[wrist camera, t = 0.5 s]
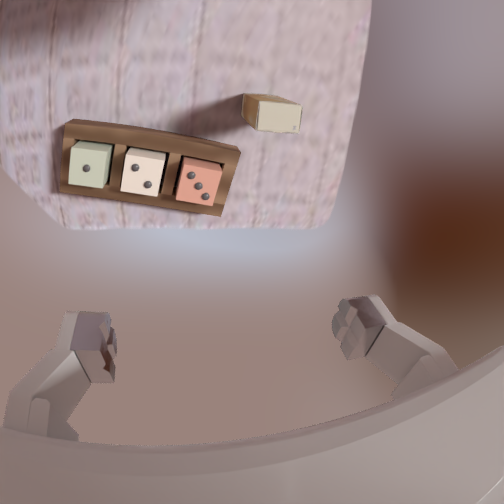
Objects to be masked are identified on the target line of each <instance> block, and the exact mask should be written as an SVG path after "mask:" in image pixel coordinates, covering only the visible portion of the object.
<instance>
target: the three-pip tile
mask: <svg viewBox="0 0 504 504" xmlns="http://www.w3.org/2000/svg"><path fill="white" fill-rule="evenodd" d="M221 175H222V169H221V167H220V164H219V162H215V161H211V160H206V159H201V158H196V157H191V156H186V155H184V157H183V161H182V165H181V169H180V173H179V177H178V181H177V186H176V200H180V201H186V202H191V203H197V204H203V205H209V206H213V202H214V199H215V196H216V192H217V189H218V185H219V182H220V179H221Z"/></svg>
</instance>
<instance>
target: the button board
mask: <svg viewBox="0 0 504 504" xmlns="http://www.w3.org/2000/svg"><path fill="white" fill-rule="evenodd" d="M80 140H89V141H98V142H105V143H113V144H115V149H114V155H113V162H112V169H111V176H109V178H108V180H107V182H106V183H105V185H104V187H103V188H95V187H88V186H81V185H73V184H68V182H69V167H70V156H71V147H73V146H74V145H75V144H76V143H77V142H79V141H80ZM129 146H134V147H140V148H146V149H152V150H158V151H164V152H170V153H169V157H168V161H167V166H166V170H165V175H164V179H163V184H160V185H159V190H158V196H157V197H156V196H149V195H143V194H137V193H130V192H123V191H121V183H122V177H123V170H124V164H125V158H126V154H127V152H128V149H129ZM240 154H241V152H240V151H239V149H238V148H237V146H233V145H228V144H224V143H220V142H216V141H211V140H207V139H202V138H197V137H192V136H187V135H182V134H177V133H172V132H166V131H161V130H155V129H149V128H143V127H136V126H130V125H123V124H115V123H108V122H99V121H90V120H80V119H72V120H70V121H69V122H67V123H65V129H64V137H63V147H62V158H61V173H60V192H62V193H70V194H78V195H85V196H92V197H99V198H106V199H113V200H120V201H127V202H133V203H140V204H146V205H153V206H159V207H165V208H171V209H178V210H184V211H190V212H196V213H202V214H207V215H213V216H219V217H221V214H222V211H223V208H224V204H225V201H226V198H227V195H228V192H229V188H230V185H231V182H232V179H233V176H234V173H235V170H236V167H237V163H238V160H239V157H240ZM181 155H186V156H191V157H196V158H201V159H206V160H211V161H215V162H220V167H221V169H222V175H221V179H220V182H219V185H218V189H217V192H216V196H215V199H214V202H213V206H209V205H203V204H197V203H191V202H186V201H180V200H176V187H174V183H175V179H176V174H177V170H178V166H179V162H180V158H181Z"/></svg>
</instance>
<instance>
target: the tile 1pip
mask: <svg viewBox="0 0 504 504" xmlns="http://www.w3.org/2000/svg"><path fill="white" fill-rule="evenodd" d="M113 147H114V144H113V143H105V142H98V141H89V140H80V141H79V142H77V143H76V144H75V145H74V146H73V147H71V156H70V167H69V182H68V184H73V185H81V186H88V187H95V188H103V187H104V185H105V183H106V182H107V180H108V178H109V174H110V167H111V160H112V153H113Z"/></svg>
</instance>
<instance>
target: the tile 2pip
mask: <svg viewBox="0 0 504 504" xmlns="http://www.w3.org/2000/svg"><path fill="white" fill-rule="evenodd" d="M165 156H166V152H164V151H158V150H152V149H146V148H140V147H134V146H131V147H130V149H129V150H128V152H127V154H126V158H125V164H124V170H123V177H122V183H121V191H123V192H130V193H137V194H143V195H149V196H156V197H157V196H158V190H159V185H160V181H161V176H162V171H163V166H164V162H165Z"/></svg>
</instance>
